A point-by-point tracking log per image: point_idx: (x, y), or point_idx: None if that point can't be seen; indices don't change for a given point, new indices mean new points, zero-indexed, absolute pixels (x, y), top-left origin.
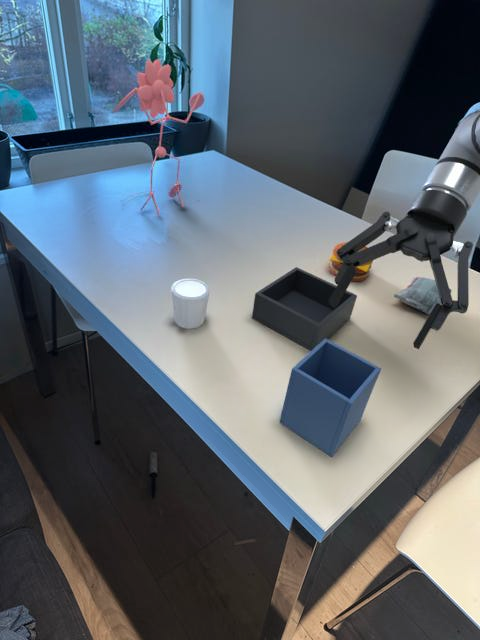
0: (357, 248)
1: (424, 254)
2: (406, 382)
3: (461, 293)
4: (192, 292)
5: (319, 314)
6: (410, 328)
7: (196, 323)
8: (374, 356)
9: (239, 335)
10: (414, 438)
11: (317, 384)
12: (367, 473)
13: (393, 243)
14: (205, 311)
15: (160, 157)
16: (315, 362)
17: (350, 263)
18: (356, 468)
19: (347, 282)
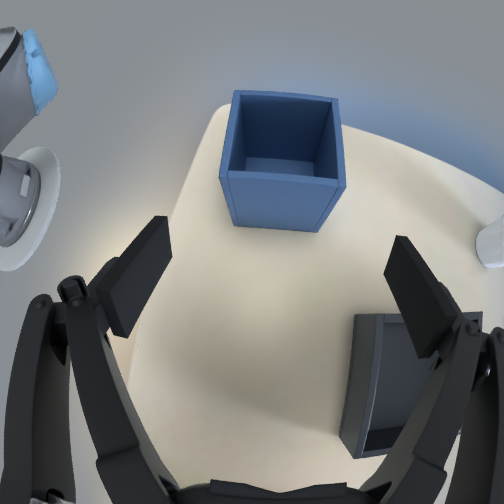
0: (477, 398)
1: (203, 494)
2: (200, 350)
3: (37, 331)
4: None
5: (386, 401)
6: (240, 477)
7: (480, 237)
8: (267, 378)
9: (443, 267)
10: None
11: (291, 93)
12: (200, 162)
13: (410, 466)
14: (488, 252)
15: None
16: (329, 171)
17: (458, 327)
18: (213, 160)
19: (415, 301)
